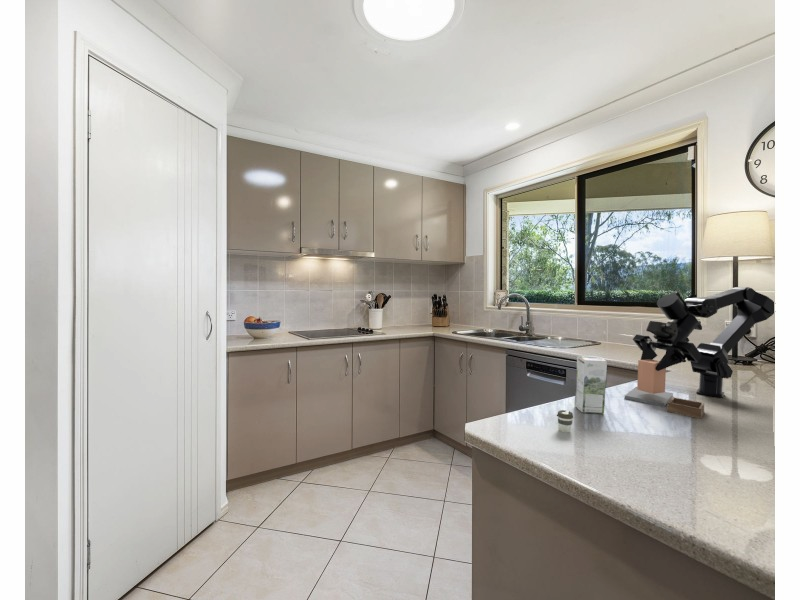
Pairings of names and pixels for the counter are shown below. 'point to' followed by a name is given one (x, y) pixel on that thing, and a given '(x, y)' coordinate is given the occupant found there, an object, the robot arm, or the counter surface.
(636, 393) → the slate board
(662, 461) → the counter surface
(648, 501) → the counter surface
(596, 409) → the syrup box
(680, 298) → the robot arm
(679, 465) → the counter surface
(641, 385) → the terracotta block
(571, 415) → the coffee cup
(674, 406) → the walnut holder
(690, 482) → the counter surface
